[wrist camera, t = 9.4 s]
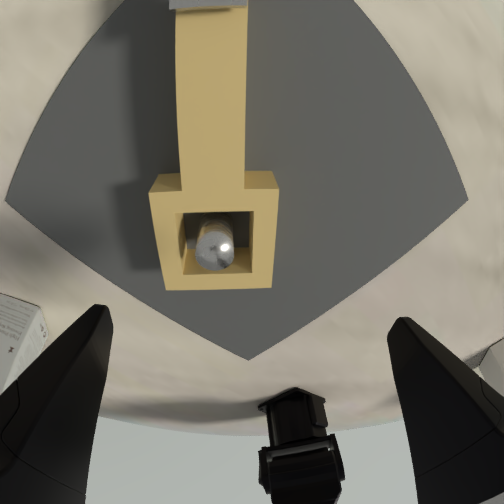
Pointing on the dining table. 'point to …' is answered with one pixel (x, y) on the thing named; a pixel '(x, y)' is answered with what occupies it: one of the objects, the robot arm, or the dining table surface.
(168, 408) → the dining table surface
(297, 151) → the mat
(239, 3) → the keeper
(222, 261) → the cylinder
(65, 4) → the dining table surface
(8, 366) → the skincare box
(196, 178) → the link
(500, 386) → the milk carton
